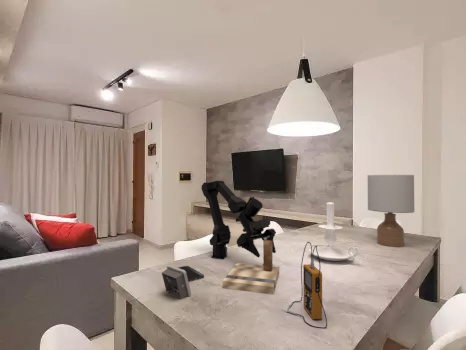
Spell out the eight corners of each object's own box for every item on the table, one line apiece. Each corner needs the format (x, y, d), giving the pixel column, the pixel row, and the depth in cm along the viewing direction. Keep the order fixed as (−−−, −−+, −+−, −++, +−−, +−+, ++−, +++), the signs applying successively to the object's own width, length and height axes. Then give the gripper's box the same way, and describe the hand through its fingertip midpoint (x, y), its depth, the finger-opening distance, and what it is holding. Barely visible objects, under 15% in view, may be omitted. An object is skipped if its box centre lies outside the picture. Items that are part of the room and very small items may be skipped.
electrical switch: (191, 296, 84) (189, 268, 83) (179, 303, 80) (177, 274, 79) (174, 288, 89) (172, 262, 89) (161, 295, 85) (159, 268, 85)
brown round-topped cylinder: (262, 277, 100) (262, 241, 100) (264, 274, 103) (264, 239, 103) (271, 278, 99) (271, 242, 99) (272, 275, 102) (272, 240, 102)
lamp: (361, 243, 154) (361, 175, 155) (376, 237, 170) (375, 175, 171) (408, 252, 136) (407, 174, 137) (419, 244, 152) (418, 175, 153)
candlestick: (344, 271, 107) (343, 205, 108) (300, 256, 128) (299, 201, 129) (371, 263, 118) (370, 203, 119) (326, 250, 139) (326, 199, 140)
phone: (187, 265, 111) (205, 275, 99) (187, 268, 111) (205, 278, 99) (170, 269, 106) (187, 280, 95) (170, 271, 106) (187, 283, 95)
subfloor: (222, 287, 90) (222, 280, 90) (237, 269, 109) (237, 263, 109) (273, 294, 85) (273, 286, 85) (279, 273, 104) (279, 267, 104)
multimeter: (276, 302, 79) (276, 238, 80) (307, 301, 80) (307, 238, 81) (291, 330, 65) (291, 251, 65) (329, 328, 65) (328, 251, 66)
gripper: (241, 213, 100) (261, 247, 91) (272, 210, 112) (293, 239, 103) (228, 230, 106) (246, 263, 97) (260, 225, 118) (278, 254, 109)
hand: (267, 254), depth 101 cm, fingers open, 9 cm apart
